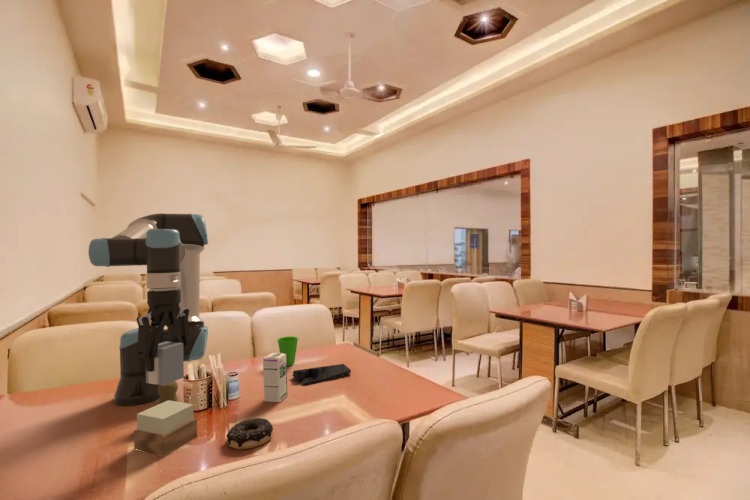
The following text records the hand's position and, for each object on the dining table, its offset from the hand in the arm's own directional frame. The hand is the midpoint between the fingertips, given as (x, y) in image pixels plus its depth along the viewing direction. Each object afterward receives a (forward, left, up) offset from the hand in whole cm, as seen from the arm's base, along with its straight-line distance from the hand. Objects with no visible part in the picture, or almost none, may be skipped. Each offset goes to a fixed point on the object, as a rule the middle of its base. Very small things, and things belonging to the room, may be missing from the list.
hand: (165, 378), depth 95 cm
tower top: (0, 0, -12) cm, 12 cm away
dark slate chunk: (+14, +58, -17) cm, 62 cm away
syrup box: (+10, +33, -17) cm, 38 cm away
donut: (+19, +8, -17) cm, 27 cm away
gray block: (0, 0, 0) cm, 0 cm away
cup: (-7, +66, -17) cm, 68 cm away
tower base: (0, 0, -17) cm, 17 cm away
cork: (-11, +10, -17) cm, 22 cm away
